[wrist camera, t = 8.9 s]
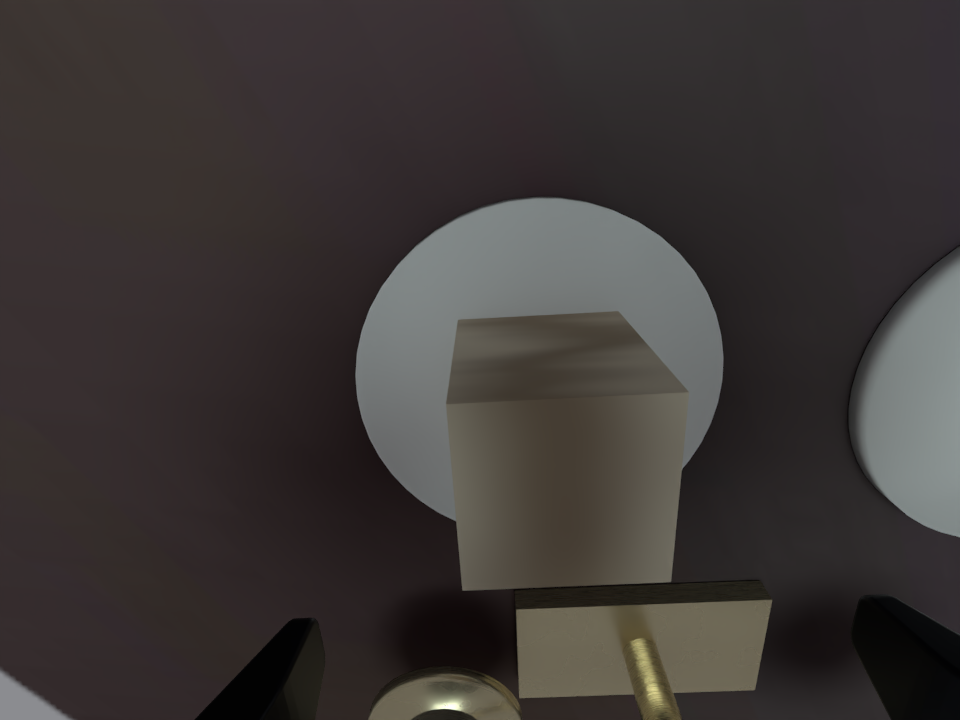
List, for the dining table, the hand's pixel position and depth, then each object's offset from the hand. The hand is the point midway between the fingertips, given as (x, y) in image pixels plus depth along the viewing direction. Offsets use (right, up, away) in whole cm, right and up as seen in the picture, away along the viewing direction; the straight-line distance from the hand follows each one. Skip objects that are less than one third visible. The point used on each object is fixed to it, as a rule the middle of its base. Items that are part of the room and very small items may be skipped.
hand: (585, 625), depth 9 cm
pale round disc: (0, +4, +10) cm, 10 cm away
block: (0, +3, +9) cm, 9 cm away
